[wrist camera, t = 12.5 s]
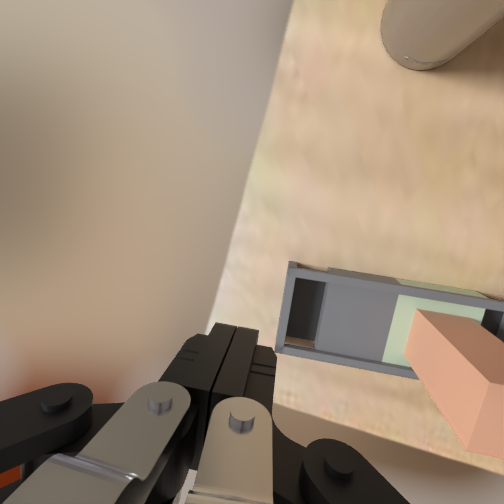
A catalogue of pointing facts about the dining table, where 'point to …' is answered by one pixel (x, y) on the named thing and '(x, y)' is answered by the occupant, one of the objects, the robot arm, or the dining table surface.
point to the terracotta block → (461, 376)
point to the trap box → (368, 316)
